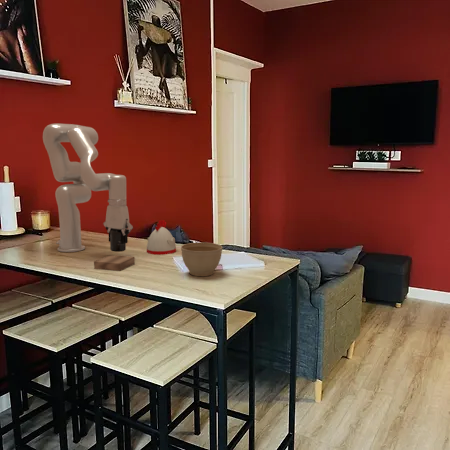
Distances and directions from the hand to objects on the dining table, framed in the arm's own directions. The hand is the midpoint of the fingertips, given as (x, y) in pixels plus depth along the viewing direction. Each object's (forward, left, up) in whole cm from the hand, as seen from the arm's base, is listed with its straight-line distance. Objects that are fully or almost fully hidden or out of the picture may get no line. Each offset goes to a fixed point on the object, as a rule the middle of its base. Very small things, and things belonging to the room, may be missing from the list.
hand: (118, 242), depth 208 cm
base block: (+9, -13, -7) cm, 17 cm away
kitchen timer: (+10, +19, -7) cm, 23 cm away
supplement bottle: (0, 0, -4) cm, 4 cm away
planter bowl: (+47, -6, -7) cm, 48 cm away
